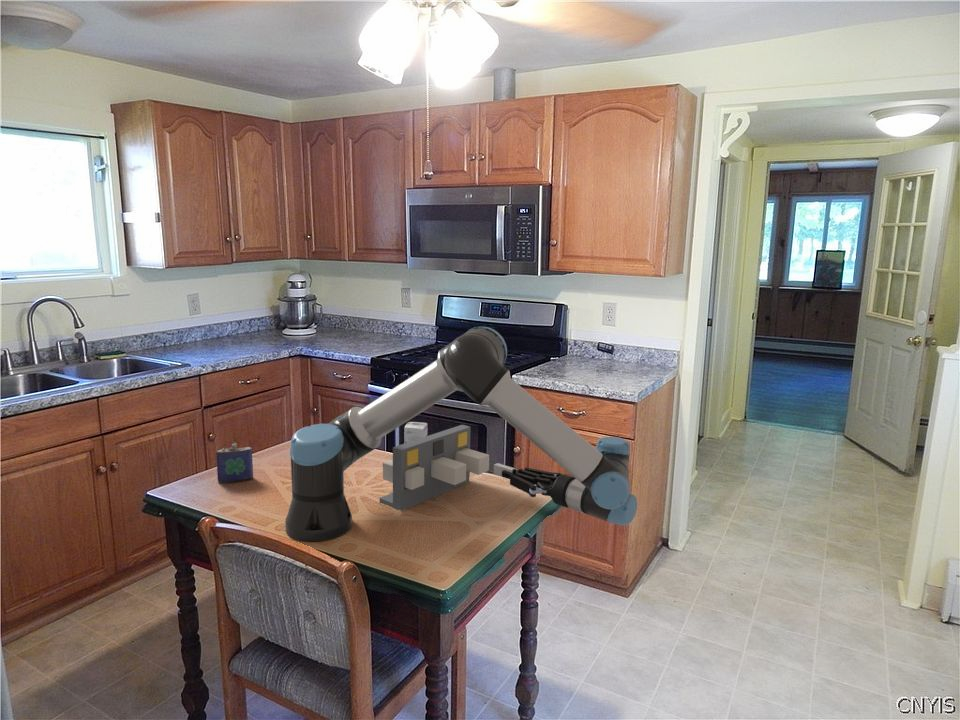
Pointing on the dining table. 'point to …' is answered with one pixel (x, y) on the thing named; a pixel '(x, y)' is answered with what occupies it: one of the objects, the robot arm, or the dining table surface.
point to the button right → (473, 460)
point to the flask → (234, 464)
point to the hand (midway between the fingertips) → (495, 468)
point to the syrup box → (414, 431)
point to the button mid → (448, 470)
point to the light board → (425, 466)
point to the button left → (405, 475)
